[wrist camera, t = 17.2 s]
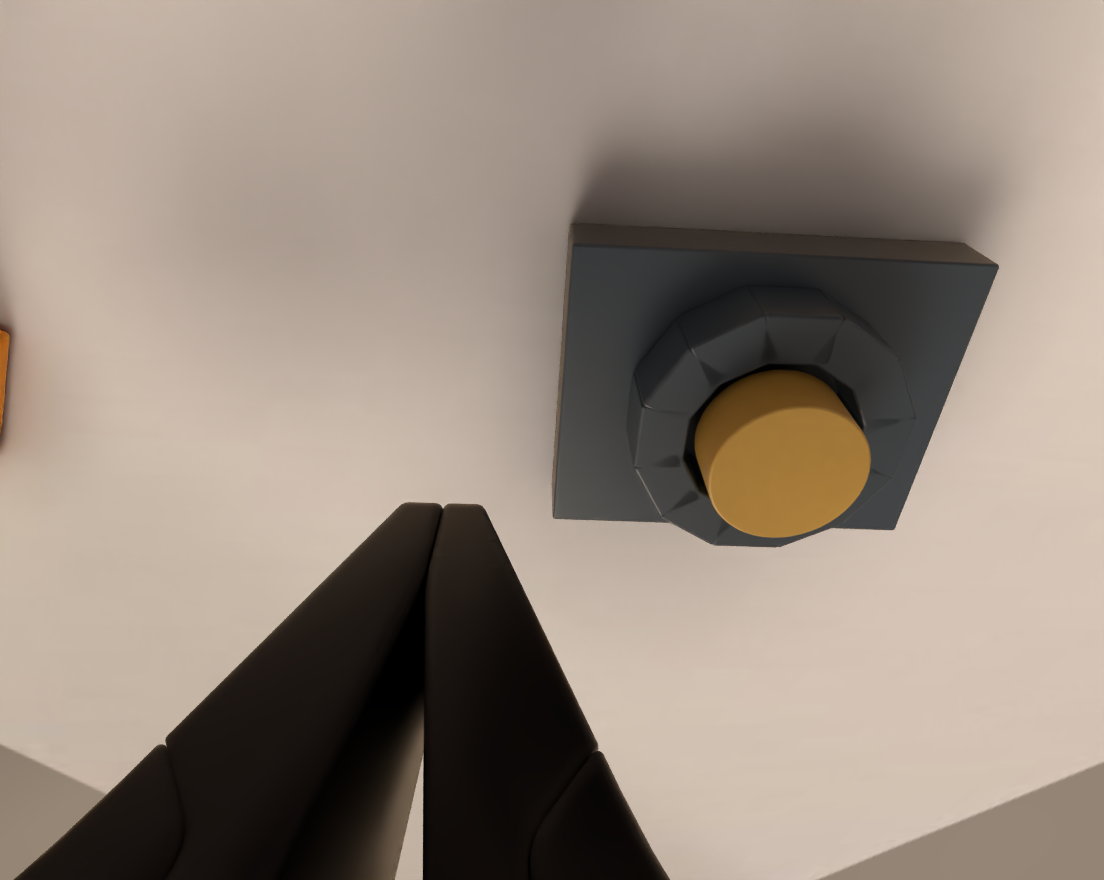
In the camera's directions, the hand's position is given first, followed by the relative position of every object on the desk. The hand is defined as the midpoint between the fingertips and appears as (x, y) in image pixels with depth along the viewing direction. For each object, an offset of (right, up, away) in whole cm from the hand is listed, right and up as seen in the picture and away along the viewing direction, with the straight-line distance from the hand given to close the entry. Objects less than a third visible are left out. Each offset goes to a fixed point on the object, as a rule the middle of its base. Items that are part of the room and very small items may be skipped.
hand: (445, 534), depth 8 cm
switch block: (+6, +3, +12) cm, 14 cm away
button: (+6, +1, +10) cm, 12 cm away
